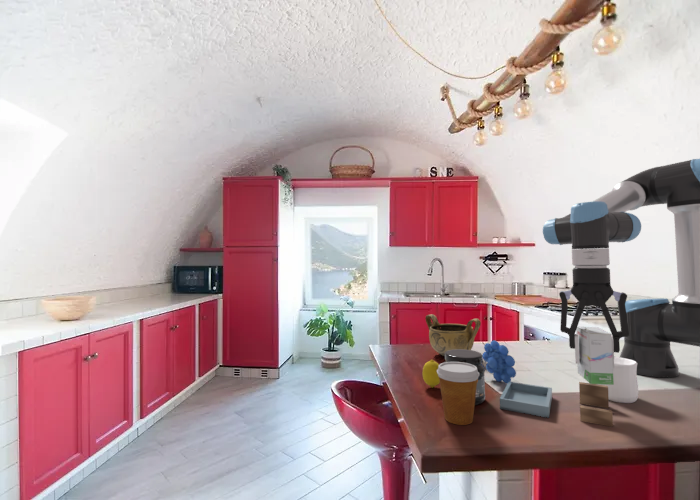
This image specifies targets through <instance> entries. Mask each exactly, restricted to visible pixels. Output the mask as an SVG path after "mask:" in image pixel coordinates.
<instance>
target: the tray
mask: <svg viewBox="0 0 700 500" xmlns="http://www.w3.org/2000/svg"><path fill="white" fill-rule="evenodd" d="M552 400H553V388H552V387H549V386H543V385H535V384H528V383H521V382H515V381H511V382H508V384H506V385H505V388H504V389H503V392H502V393H501V395H500V397H499V409H500V410H504V411H510V412H515V413H520V414H524V413H525V415H530V414H531V416H535V415H536V416H535V417H540V416H541V417H542V418H546V417H547V419H549V418H550V413H551V407H552ZM541 417H540V418H541Z"/></svg>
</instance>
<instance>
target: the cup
mask: <svg viewBox="0 0 700 500" xmlns="http://www.w3.org/2000/svg"><path fill="white" fill-rule="evenodd" d="M637 376H638V374H637V362H636V361H634V360H630V359H626V358H621V357H620V356H615V355H614V368H613V381H614V385H606V384H598V385H605V386H608V400H609V401H610V402H615V403H622V404H631V403H636V402H637V400H638V397H639V384H638V383H639V381H638V377H637Z"/></svg>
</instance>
